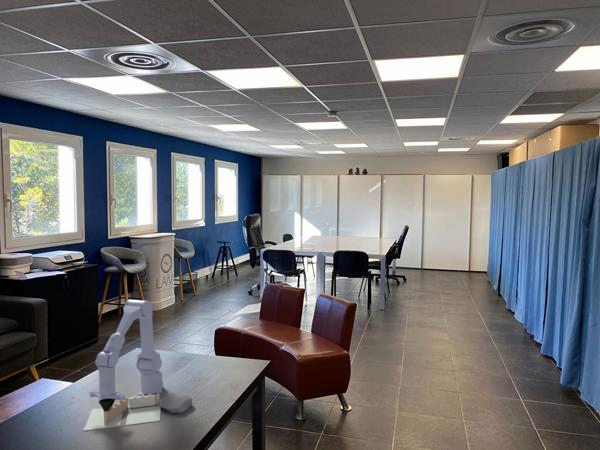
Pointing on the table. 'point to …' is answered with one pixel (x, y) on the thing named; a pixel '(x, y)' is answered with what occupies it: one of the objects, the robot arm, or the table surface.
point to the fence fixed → (142, 401)
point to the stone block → (176, 403)
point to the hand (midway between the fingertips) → (107, 416)
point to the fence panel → (114, 411)
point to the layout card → (124, 417)
